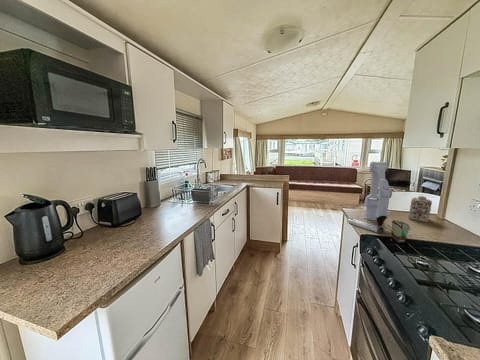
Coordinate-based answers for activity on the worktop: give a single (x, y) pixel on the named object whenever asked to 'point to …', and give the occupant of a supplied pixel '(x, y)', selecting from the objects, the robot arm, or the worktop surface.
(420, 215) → the decorative jar
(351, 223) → the fixed tong arm
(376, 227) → the hinged tong arm
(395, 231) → the food container
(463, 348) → the worktop surface
